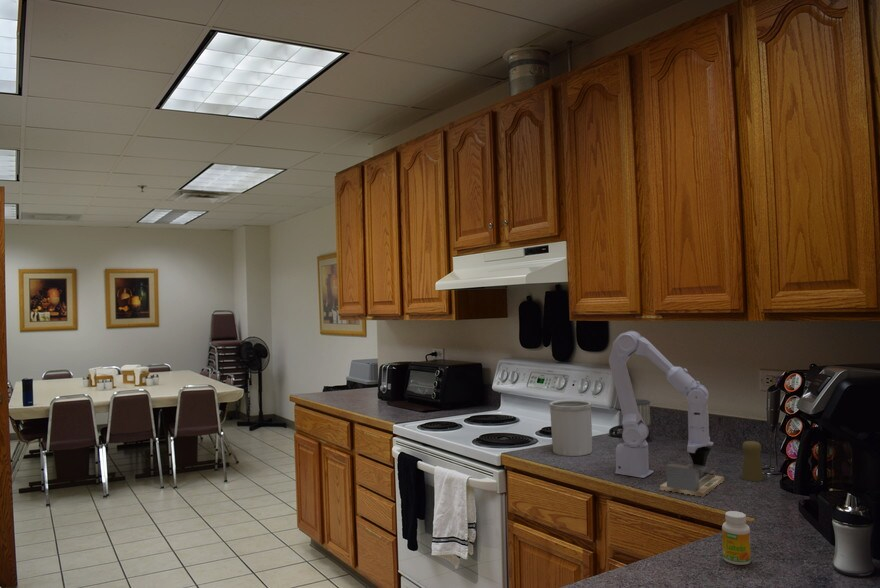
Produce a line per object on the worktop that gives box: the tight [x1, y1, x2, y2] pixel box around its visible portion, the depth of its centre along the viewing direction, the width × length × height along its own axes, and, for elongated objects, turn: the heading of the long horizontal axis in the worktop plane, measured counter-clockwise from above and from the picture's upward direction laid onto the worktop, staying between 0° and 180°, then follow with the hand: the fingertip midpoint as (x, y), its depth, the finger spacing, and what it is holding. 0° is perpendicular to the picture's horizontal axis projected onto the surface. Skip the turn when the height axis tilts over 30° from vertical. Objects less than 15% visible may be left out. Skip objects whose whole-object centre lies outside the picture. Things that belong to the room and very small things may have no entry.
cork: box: [741, 440, 765, 482], centre depth 196 cm, size 6×6×11 cm
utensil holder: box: [548, 398, 593, 457], centre depth 234 cm, size 15×15×18 cm
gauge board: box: [659, 470, 725, 498], centre depth 191 cm, size 12×19×3 cm, turn 140°
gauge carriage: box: [685, 463, 714, 480], centre depth 192 cm, size 8×5×4 cm, turn 50°
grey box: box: [665, 463, 699, 492], centre depth 184 cm, size 8×3×6 cm, turn 50°
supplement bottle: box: [721, 510, 752, 566], centre depth 138 cm, size 5×5×10 cm
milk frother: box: [608, 398, 653, 443], centre depth 252 cm, size 14×16×15 cm
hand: (699, 472), depth 195 cm, fingers closed
